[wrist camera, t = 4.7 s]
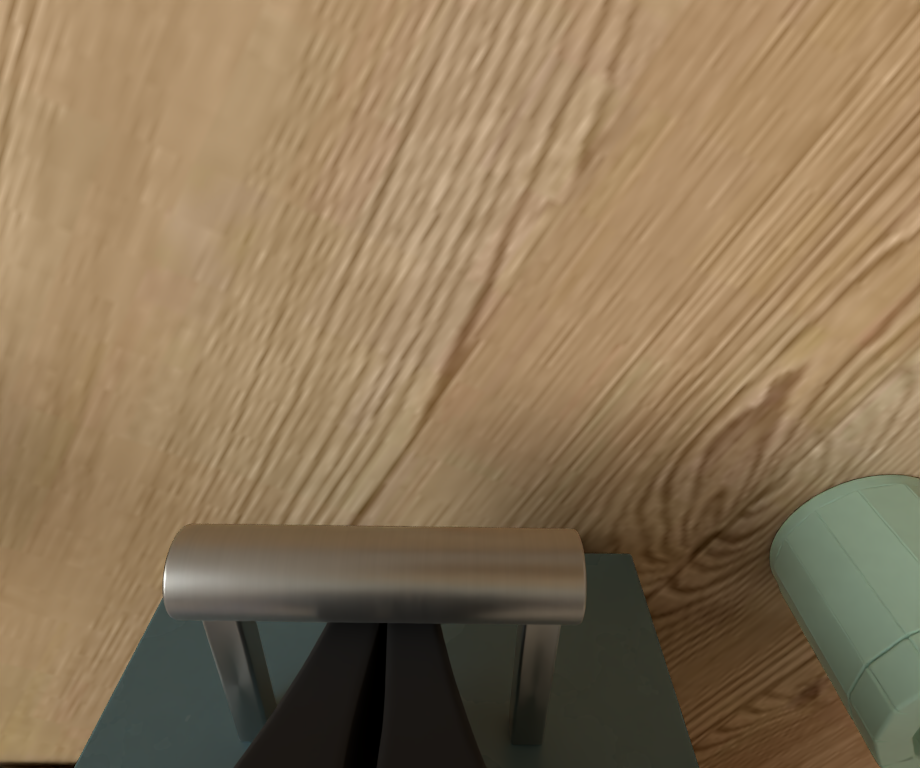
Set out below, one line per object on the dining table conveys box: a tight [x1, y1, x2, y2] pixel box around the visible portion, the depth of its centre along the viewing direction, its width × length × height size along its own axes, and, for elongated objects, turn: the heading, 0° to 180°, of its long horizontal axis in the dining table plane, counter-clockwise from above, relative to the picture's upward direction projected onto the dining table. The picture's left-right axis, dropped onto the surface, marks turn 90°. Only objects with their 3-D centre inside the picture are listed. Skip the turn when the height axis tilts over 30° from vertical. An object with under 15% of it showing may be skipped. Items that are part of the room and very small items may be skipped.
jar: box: [769, 475, 920, 768], centre depth 14 cm, size 5×5×5 cm
